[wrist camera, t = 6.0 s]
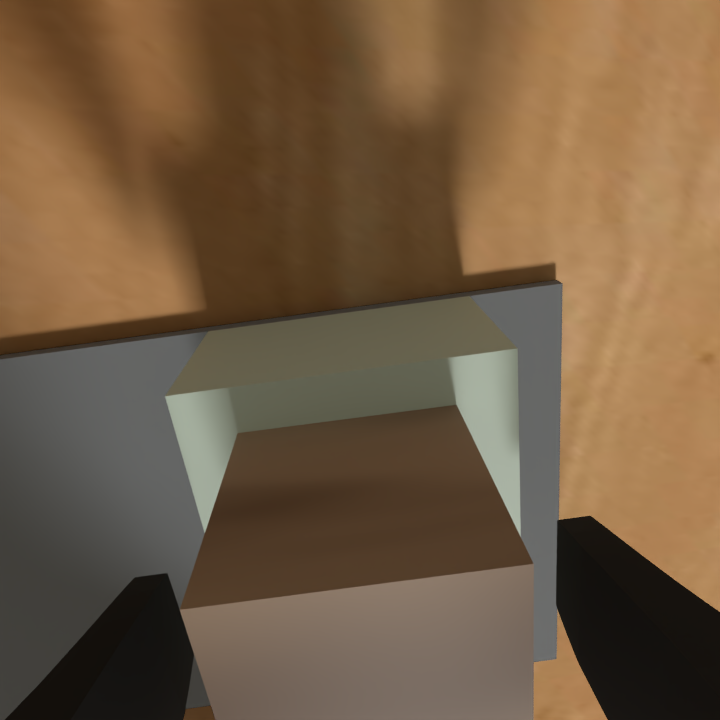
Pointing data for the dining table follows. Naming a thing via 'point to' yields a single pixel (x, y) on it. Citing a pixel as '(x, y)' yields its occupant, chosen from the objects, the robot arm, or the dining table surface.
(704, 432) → the dining table surface
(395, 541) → the walnut cube
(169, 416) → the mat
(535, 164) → the dining table surface
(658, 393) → the dining table surface
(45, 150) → the dining table surface
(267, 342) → the base block
